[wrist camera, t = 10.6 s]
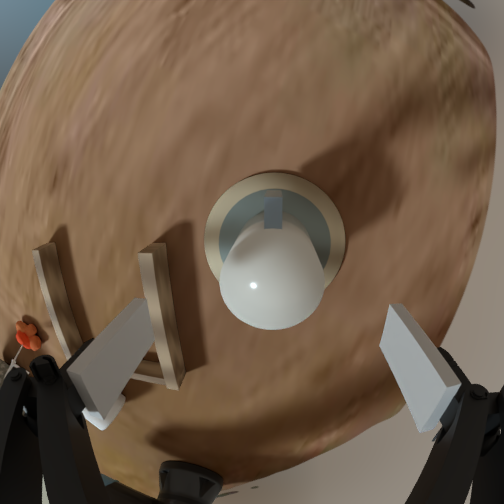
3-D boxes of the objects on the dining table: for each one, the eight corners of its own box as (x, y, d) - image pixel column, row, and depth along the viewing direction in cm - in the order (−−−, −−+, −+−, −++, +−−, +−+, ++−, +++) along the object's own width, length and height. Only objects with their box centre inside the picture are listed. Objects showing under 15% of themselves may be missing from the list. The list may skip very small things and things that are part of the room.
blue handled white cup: (239, 278, 28) (222, 327, 19) (236, 188, 25) (215, 200, 16) (307, 279, 27) (319, 330, 19) (312, 188, 24) (330, 201, 16)
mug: (85, 351, 35) (59, 381, 28) (131, 391, 37) (112, 425, 29) (69, 376, 39) (48, 402, 31) (108, 410, 40) (91, 438, 32)
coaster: (337, 307, 28) (337, 309, 28) (209, 304, 30) (208, 306, 29) (348, 175, 24) (349, 175, 24) (202, 173, 25) (200, 174, 25)
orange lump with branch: (52, 359, 38) (18, 396, 26) (20, 328, 37) (-15, 359, 25) (54, 342, 36) (15, 381, 24) (21, 309, 35) (-20, 340, 24)
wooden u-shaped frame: (186, 372, 33) (178, 390, 30) (79, 350, 35) (68, 362, 32) (165, 242, 28) (151, 253, 24) (48, 242, 30) (31, 250, 26)
